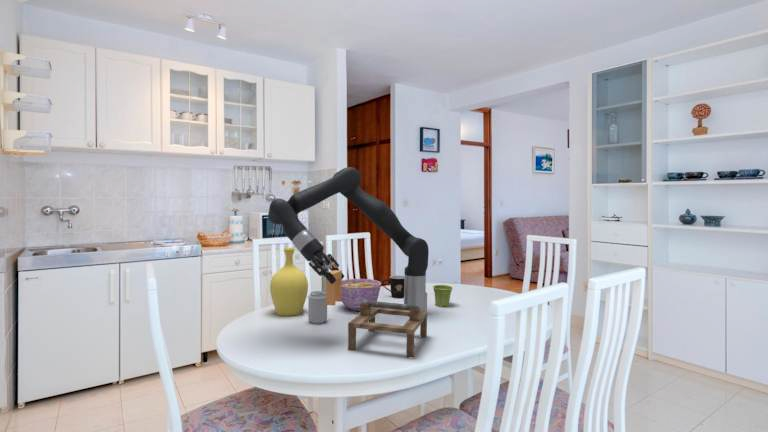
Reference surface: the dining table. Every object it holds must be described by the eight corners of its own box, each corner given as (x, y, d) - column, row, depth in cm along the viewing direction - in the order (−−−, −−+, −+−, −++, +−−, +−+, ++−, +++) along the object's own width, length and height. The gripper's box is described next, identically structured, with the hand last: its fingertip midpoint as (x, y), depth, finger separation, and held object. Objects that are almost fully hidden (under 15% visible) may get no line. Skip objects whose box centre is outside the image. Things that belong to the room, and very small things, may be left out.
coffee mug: (408, 295, 216) (408, 276, 216) (403, 299, 208) (403, 279, 208) (386, 293, 220) (387, 274, 220) (381, 297, 212) (381, 277, 212)
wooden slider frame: (348, 349, 140) (348, 307, 139) (370, 329, 161) (370, 293, 160) (412, 357, 133) (413, 314, 133) (426, 336, 154) (427, 298, 154)
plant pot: (455, 304, 199) (455, 286, 199) (447, 309, 192) (447, 290, 191) (437, 301, 204) (437, 284, 204) (428, 306, 197) (429, 287, 196)
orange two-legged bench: (326, 304, 145) (326, 273, 144) (333, 300, 151) (333, 270, 150) (334, 305, 144) (334, 273, 143) (341, 301, 150) (341, 270, 150)
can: (323, 324, 166) (323, 294, 165) (305, 323, 168) (305, 293, 167) (329, 319, 173) (329, 290, 173) (312, 318, 175) (312, 289, 174)
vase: (273, 319, 172) (273, 251, 171) (267, 309, 187) (267, 246, 185) (311, 315, 179) (312, 249, 177) (303, 306, 193) (303, 245, 192)
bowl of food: (384, 303, 199) (385, 279, 199) (376, 315, 180) (376, 288, 179) (343, 301, 203) (343, 277, 202) (331, 312, 183) (331, 286, 182)
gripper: (304, 240, 142) (337, 277, 139) (323, 235, 155) (353, 269, 153) (290, 254, 144) (322, 291, 141) (310, 249, 157) (339, 283, 154)
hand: (338, 280), depth 147 cm, fingers closed on orange two-legged bench, 6 cm apart
